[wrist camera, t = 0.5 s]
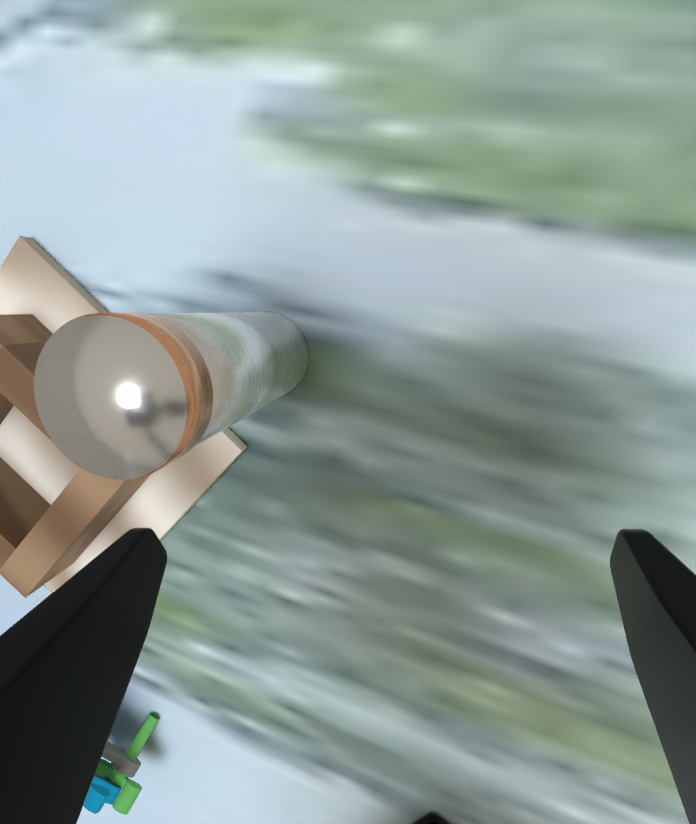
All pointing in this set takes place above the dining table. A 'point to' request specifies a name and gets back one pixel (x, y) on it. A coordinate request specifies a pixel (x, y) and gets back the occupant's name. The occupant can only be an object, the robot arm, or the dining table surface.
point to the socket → (48, 467)
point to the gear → (118, 774)
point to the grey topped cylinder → (159, 383)
